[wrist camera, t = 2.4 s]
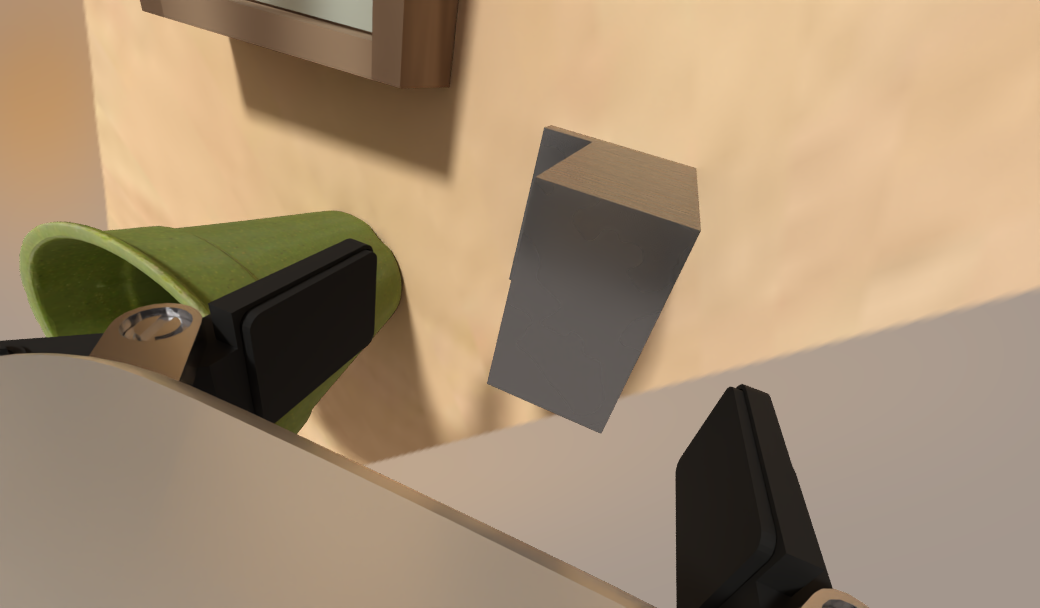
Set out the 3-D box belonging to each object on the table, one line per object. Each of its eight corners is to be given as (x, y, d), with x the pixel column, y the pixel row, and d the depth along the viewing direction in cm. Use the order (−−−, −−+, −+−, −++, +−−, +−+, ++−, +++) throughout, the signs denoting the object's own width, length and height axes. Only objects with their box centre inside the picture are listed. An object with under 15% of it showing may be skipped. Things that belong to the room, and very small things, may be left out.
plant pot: (472, 337, 24) (331, 503, 14) (336, 359, 29) (170, 490, 20) (377, 128, 20) (96, 171, 10) (241, 200, 25) (-24, 269, 16)
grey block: (696, 168, 16) (700, 231, 9) (631, 314, 19) (601, 433, 13) (551, 125, 17) (462, 152, 10) (516, 271, 21) (434, 360, 14)
